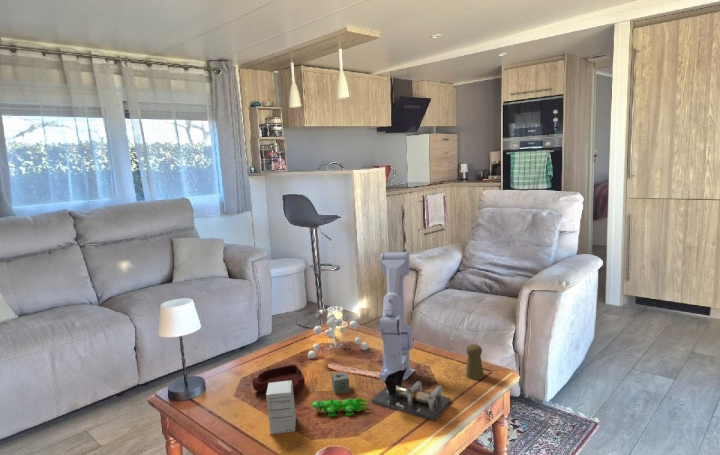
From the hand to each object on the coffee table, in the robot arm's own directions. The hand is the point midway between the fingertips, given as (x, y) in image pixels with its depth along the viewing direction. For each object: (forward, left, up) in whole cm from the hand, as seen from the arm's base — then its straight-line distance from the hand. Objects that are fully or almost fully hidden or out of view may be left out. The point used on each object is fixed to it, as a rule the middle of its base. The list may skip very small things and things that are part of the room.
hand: (394, 391), depth 147 cm
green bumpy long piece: (-12, -14, -3) cm, 19 cm away
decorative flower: (-42, +20, -3) cm, 47 cm away
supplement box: (-22, -29, -2) cm, 37 cm away
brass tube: (+6, 0, +1) cm, 6 cm away
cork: (+18, +25, -2) cm, 31 cm away
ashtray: (-38, -11, -3) cm, 40 cm away
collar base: (+6, 0, -2) cm, 6 cm away
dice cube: (-19, -4, -2) cm, 20 cm away
